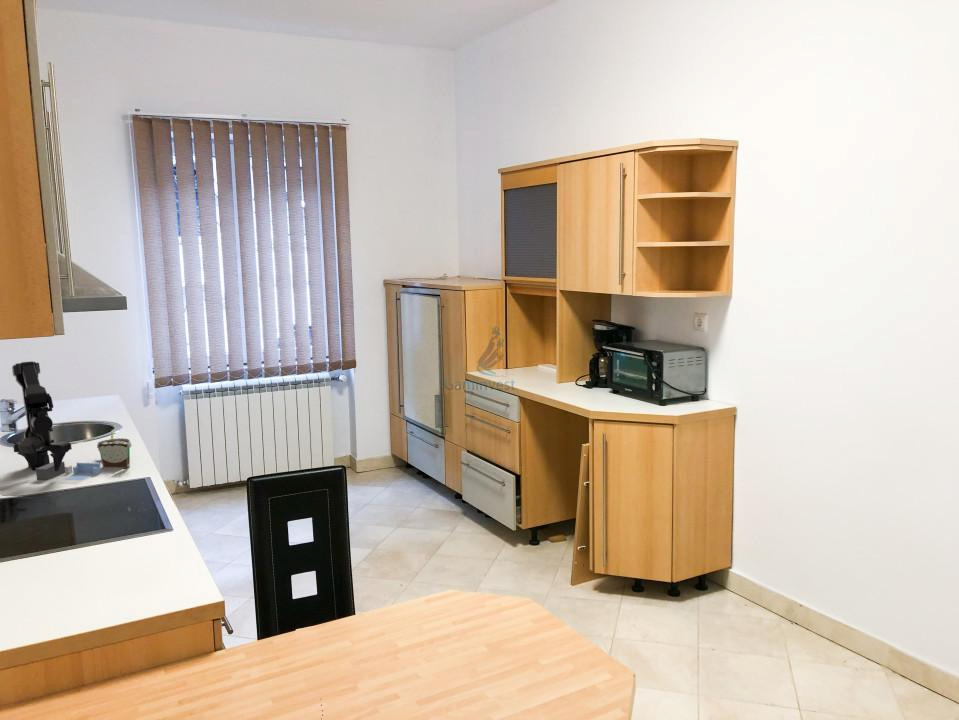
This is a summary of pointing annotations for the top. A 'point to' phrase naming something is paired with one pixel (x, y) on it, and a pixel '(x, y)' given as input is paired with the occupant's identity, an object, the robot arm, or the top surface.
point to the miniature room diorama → (74, 474)
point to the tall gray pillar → (49, 471)
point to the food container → (115, 452)
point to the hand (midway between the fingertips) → (45, 470)
